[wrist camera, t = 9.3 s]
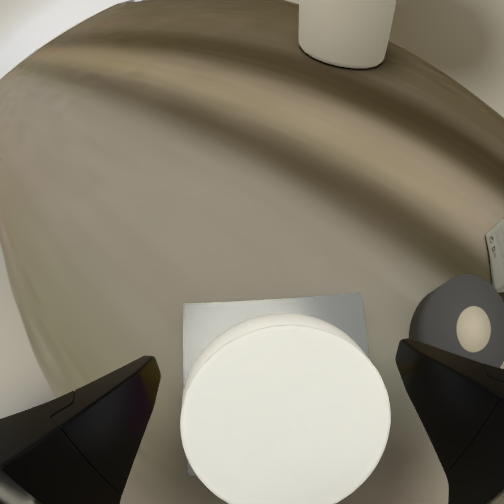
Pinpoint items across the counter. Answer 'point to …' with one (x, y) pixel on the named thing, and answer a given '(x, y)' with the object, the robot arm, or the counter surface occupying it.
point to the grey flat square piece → (230, 313)
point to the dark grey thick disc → (463, 320)
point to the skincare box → (497, 255)
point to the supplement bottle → (284, 413)
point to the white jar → (346, 31)
